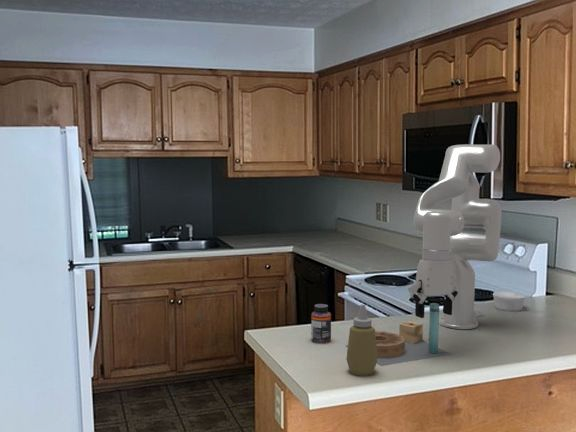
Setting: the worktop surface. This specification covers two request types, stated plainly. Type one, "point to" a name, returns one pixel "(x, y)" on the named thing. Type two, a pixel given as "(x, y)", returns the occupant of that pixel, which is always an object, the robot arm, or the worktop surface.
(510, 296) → the ramekin
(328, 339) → the supplement bottle
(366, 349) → the squeeze bottle
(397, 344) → the faceted wooden ring
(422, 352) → the felt mat
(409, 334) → the cube bead
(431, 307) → the teal marker pen
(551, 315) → the worktop surface
